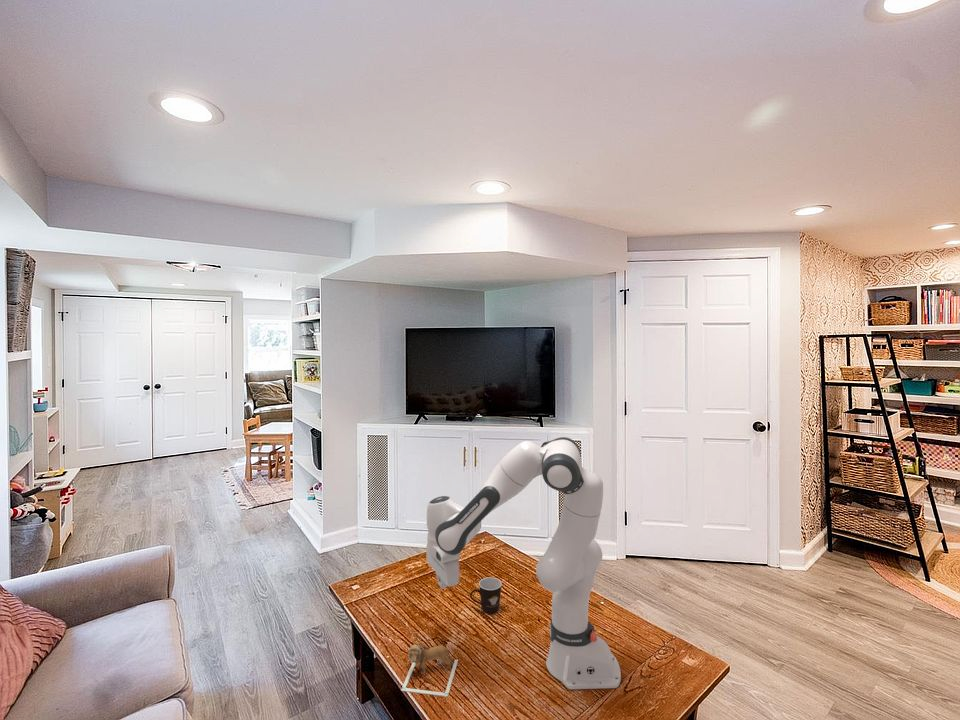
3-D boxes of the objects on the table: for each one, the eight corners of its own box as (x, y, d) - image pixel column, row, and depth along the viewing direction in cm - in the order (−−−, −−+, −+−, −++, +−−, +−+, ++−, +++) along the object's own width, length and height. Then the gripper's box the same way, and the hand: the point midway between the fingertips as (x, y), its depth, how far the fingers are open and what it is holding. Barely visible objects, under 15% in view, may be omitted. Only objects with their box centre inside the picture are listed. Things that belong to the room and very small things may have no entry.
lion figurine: (410, 681, 135) (410, 653, 134) (406, 669, 140) (406, 641, 139) (456, 667, 141) (456, 640, 140) (451, 656, 145) (451, 629, 145)
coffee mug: (502, 602, 174) (502, 577, 173) (501, 616, 165) (501, 590, 165) (472, 601, 175) (472, 576, 175) (469, 615, 167) (469, 589, 166)
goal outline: (458, 660, 144) (458, 659, 144) (447, 696, 129) (447, 696, 129) (415, 655, 146) (415, 654, 146) (400, 690, 131) (400, 690, 131)
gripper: (421, 536, 157) (422, 575, 158) (443, 560, 139) (445, 604, 139) (437, 532, 160) (439, 570, 161) (462, 555, 142) (463, 598, 142)
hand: (442, 586), depth 150 cm, fingers closed
